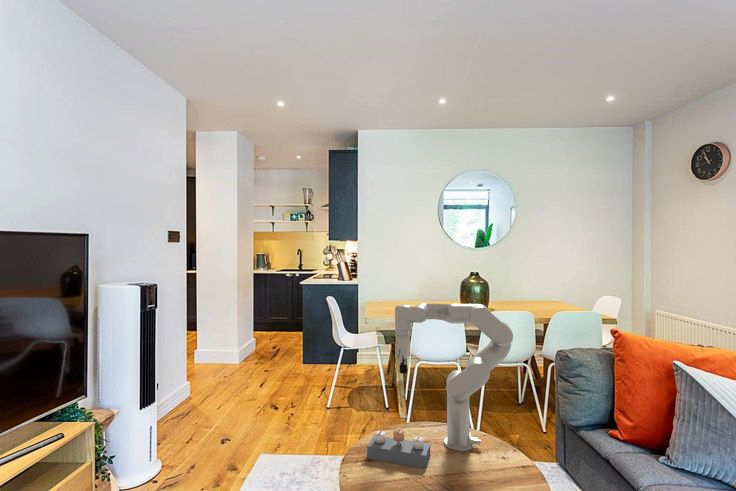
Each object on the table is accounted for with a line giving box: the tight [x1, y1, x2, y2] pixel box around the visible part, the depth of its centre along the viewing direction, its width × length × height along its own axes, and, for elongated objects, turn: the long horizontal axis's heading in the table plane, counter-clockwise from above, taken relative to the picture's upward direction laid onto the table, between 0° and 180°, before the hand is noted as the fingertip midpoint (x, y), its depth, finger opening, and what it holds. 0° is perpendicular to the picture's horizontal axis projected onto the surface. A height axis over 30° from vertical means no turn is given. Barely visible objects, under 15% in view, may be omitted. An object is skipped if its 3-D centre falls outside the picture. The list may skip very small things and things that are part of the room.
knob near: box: [412, 436, 425, 449], centre depth 154 cm, size 4×4×6 cm
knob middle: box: [392, 428, 405, 446], centre depth 157 cm, size 4×4×6 cm
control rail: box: [366, 434, 431, 470], centre depth 157 cm, size 24×10×5 cm, turn 71°
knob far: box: [374, 430, 386, 443], centre depth 159 cm, size 4×4×6 cm
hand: (403, 372), depth 174 cm, fingers closed
